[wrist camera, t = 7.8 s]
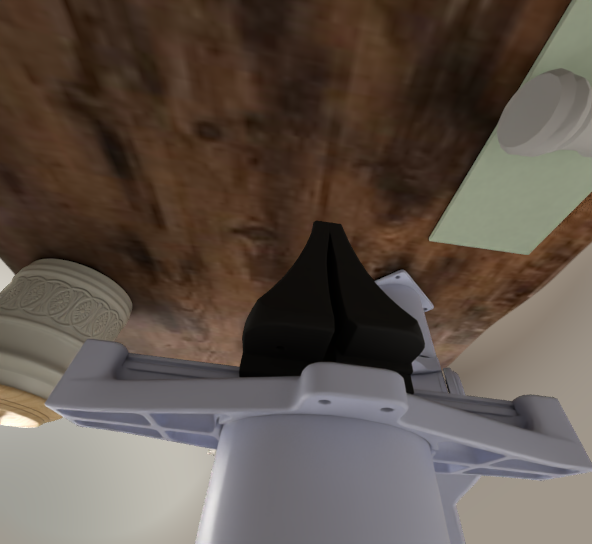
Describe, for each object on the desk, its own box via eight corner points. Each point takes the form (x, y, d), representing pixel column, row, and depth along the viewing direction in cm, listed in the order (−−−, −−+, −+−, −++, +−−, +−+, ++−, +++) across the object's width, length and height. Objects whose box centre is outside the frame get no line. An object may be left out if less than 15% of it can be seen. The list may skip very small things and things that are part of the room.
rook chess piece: (586, 92, 13) (712, 130, 15) (546, 50, 16) (657, 85, 17) (506, 169, 17) (612, 193, 18) (483, 125, 19) (578, 149, 21)
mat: (526, 252, 27) (528, 255, 27) (428, 238, 27) (429, 241, 26) (851, -79, 12) (863, -80, 12) (642, -118, 12) (649, -120, 12)
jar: (112, 261, 33) (-16, 430, 21) (148, 322, 42) (75, 463, 30) (1, 250, 33) (-190, 412, 21) (62, 313, 42) (-45, 450, 30)
